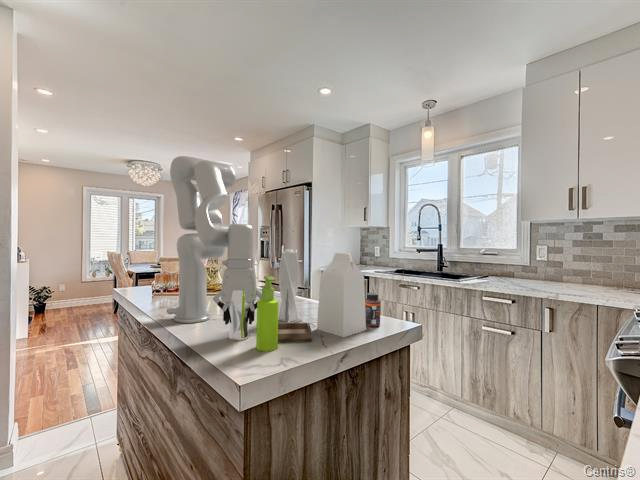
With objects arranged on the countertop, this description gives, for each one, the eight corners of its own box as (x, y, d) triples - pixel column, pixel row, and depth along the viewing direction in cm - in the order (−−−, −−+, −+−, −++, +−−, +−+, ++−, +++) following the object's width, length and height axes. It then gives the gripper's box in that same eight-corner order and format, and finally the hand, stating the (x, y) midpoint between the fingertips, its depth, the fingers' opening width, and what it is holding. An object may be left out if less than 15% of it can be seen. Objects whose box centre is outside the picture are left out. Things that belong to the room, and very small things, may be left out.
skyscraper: (271, 320, 117) (273, 245, 117) (287, 317, 124) (289, 244, 123) (287, 325, 112) (288, 245, 112) (303, 321, 118) (304, 245, 118)
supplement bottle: (378, 328, 110) (379, 295, 110) (361, 326, 112) (362, 294, 112) (381, 324, 116) (382, 293, 116) (365, 322, 118) (365, 291, 118)
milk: (365, 330, 108) (367, 253, 107) (343, 337, 99) (344, 254, 99) (339, 323, 116) (340, 252, 116) (316, 329, 108) (318, 252, 108)
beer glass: (244, 342, 93) (245, 290, 93) (222, 340, 94) (223, 289, 94) (254, 335, 100) (255, 287, 100) (233, 333, 101) (234, 286, 101)
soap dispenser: (259, 354, 84) (261, 278, 84) (254, 345, 90) (255, 275, 90) (281, 351, 86) (282, 277, 86) (274, 343, 93) (275, 274, 92)
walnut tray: (271, 342, 93) (271, 333, 93) (272, 330, 105) (272, 322, 105) (311, 341, 95) (312, 333, 95) (308, 330, 107) (309, 322, 107)
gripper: (207, 265, 92) (206, 327, 92) (268, 266, 94) (266, 326, 94) (213, 263, 100) (212, 320, 100) (269, 264, 102) (268, 320, 102)
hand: (239, 322), depth 97 cm, fingers closed on beer glass, 6 cm apart
